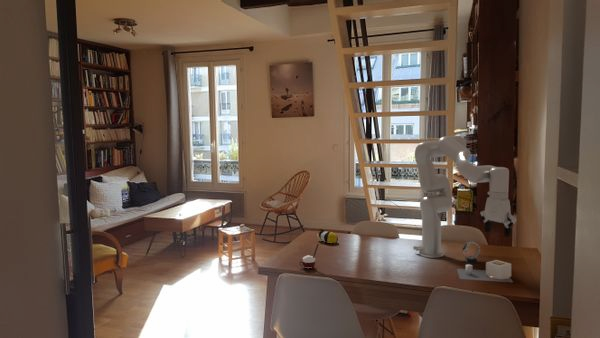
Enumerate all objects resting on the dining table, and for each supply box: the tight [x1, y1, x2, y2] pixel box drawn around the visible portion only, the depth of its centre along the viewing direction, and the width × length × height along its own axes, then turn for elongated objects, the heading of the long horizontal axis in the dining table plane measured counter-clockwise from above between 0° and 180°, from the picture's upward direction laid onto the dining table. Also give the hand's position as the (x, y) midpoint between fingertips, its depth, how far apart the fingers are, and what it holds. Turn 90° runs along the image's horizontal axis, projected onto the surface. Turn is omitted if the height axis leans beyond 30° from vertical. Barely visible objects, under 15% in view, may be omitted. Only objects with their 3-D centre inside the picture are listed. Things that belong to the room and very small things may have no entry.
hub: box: [487, 261, 511, 280], centre depth 184 cm, size 9×9×6 cm
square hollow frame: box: [485, 259, 512, 279], centre depth 184 cm, size 7×7×6 cm
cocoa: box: [299, 243, 319, 268], centre depth 206 cm, size 10×6×12 cm, turn 70°
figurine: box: [316, 228, 339, 244], centre depth 254 cm, size 8×15×8 cm, turn 43°
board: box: [456, 263, 514, 283], centre depth 186 cm, size 21×14×6 cm, turn 74°
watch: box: [461, 241, 481, 264], centre depth 205 cm, size 6×8×11 cm
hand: (497, 233), depth 186 cm, fingers open, 9 cm apart
